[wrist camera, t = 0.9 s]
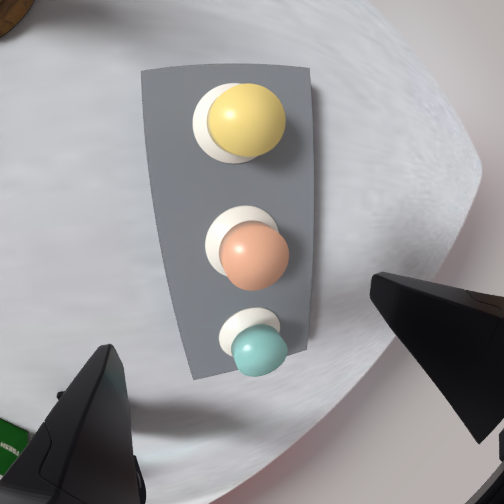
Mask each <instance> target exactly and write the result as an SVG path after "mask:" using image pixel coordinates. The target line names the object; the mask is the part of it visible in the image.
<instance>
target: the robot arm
mask: <svg viewBox="0 0 504 504" xmlns="http://www.w3.org/2000/svg"><path fill="white" fill-rule="evenodd" d="M370 299H371V301H372V302H373V303H374V305H375V306H376V308H377V309H378V311H379V312H380V314H381V315H382V316H383V318H384V319H385V321H386V322H387V324H388V325H389V327H390V328H391V329H392V331H393V332H394V333H395V334H396V336H397V337H398V338H399V339H400V341H401V342H402V343H403V344H404V345H405V347H406V348H407V349H408V350H409V352H411V354H412V355H413V357H414V358H415V359H416V360H417V362H418V363H419V364H420V365H421V367H422V368H423V369H424V370H425V372H426V373H427V374H428V376H429V377H430V378H431V379H432V381H433V382H434V383H435V385H436V386H437V387H438V388H439V390H440V391H441V393H442V394H443V395H444V396H445V398H446V399H447V401H448V402H449V403H450V405H451V406H452V408H453V409H454V410H455V412H456V413H457V415H458V416H459V417H460V419H461V420H462V421H463V423H464V425H465V426H466V427H467V428H468V430H469V432H470V433H471V434H472V436H473V438H474V439H475V440H476V442H477V443H478V444H480V443H481V442H482V441H483V440H484V439H485V438H486V437H487V436H488V435H489V434H490V433H491V432H492V431H493V430H494V429H495V427H496V426H497V425H498V424H499V423H500V422H501V421H502V419H503V418H504V297H501V296H495V295H489V294H483V293H478V292H474V291H469V290H464V289H460V288H455V287H451V286H446V285H441V284H437V283H432V282H428V281H423V280H419V279H414V278H409V277H405V276H400V275H395V274H391V273H386V272H380V273H377V274H374V275H373V277H372V280H371V288H370ZM57 398H58V402H57V403H56V405H55V406H54V407H53V409H52V410H51V412H50V413H49V415H48V416H47V417H46V419H45V422H43V423H42V425H41V426H40V428H39V429H38V431H37V432H36V433H35V435H34V436H33V438H32V439H31V441H30V442H29V443H28V445H27V446H26V447H25V449H24V450H23V451H22V452H21V454H20V455H19V456H18V458H17V459H16V460H15V461H14V463H13V464H12V465H11V467H10V468H9V469H8V470H7V472H6V473H5V474H4V476H3V477H2V478H1V479H0V504H145V502H146V488H145V483H144V480H143V477H142V474H141V471H140V468H139V465H138V462H137V458H136V456H135V455H133V447H132V435H131V420H130V409H129V402H128V396H127V389H126V382H125V374H124V367H123V364H122V362H121V360H120V358H119V356H118V354H117V352H116V350H115V348H114V346H113V345H112V344H107V345H101V346H99V347H98V348H97V350H96V351H95V352H94V354H93V355H92V356H91V357H90V359H89V360H88V361H87V363H86V364H85V365H84V367H83V368H82V369H81V370H80V372H79V373H78V374H77V376H76V377H75V378H74V380H73V381H72V383H71V384H70V385H69V387H68V388H67V389H66V391H65V392H58V393H57ZM499 459H500V460H501V461H502V463H501V464H500V466H499V467H498V468H497V469H496V471H495V472H494V473H493V474H492V475H491V477H490V478H489V479H488V480H487V481H486V482H485V483H484V484H483V486H482V487H481V488H480V489H479V490H478V491H477V492H476V493H475V494H474V495H473V496H472V497H471V498H470V499H469V500H468V501H467V502H466V503H465V504H504V428H503V430H502V431H501V432H500V434H499Z"/></svg>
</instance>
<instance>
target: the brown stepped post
mask: <svg viewBox="0 0 504 504" xmlns="http://www.w3.org/2000/svg"><path fill="white" fill-rule="evenodd" d="M33 1H34V0H0V37H1V36H3V35H4V34H6V33H7V32H8V31H10V30H11V29H12V28H13V27H14V26H15V25H16V24H17V23H18V22H19V21H20V20H21V19H22V18H23V17H24V15H25V14H26V13H27V11H28V10H29V8H30V7H31V5H32V3H33Z"/></svg>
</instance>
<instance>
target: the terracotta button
mask: <svg viewBox="0 0 504 504" xmlns="http://www.w3.org/2000/svg"><path fill="white" fill-rule="evenodd" d="M219 260H220V263H221V265H222V267H223V269H224V271H225V273H226V275H227V276H228V278H229V280H230V281H231V282H232V283H233V284H234V285H235V286H237V287H238V288H240V289H243V290H248V291H256V290H261V289H264V288H267V287H269V286H271V285H272V284H274V283H275V282H276V281H277V280H278V279H279V278H280V277H281V276H282V274H283V273H284V271H285V269H286V267H287V264H288V260H289V249H288V246H287V243H286V241H285V239H284V238H283V237H282V236H281V235H280V234H279V233H278V232H276V231H275V230H274V229H272V228H271V227H270V226H269V225H267V224H265V223H263V222H261V221H256V220H250V221H244V222H241V223H239V224H237V225H235V226H233V227H232V228H231V229H230V230H229V231H228V232H227V233H226V234H225V235H224V237H223V239H222V241H221V243H220V247H219Z"/></svg>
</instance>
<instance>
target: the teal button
mask: <svg viewBox="0 0 504 504" xmlns="http://www.w3.org/2000/svg"><path fill="white" fill-rule="evenodd" d="M287 352H288V348H287V345H286V343H285V342H284V340H283V339H282V337H281V336H280V334H279V333H278V331H277V330H276V329H275V328H274V327H272V326H270V325H265V324H259V325H254V326H251V327H248V328H246V329H244V330H243V331H241V332H240V333H239V334H238V335H237V336H236V337H235V339H234V340H233V342H232V345H231V353H232V356H233V358H234V360H235V363H236V365H237V368H238V370H239V371H240V372H241V373H242V374H244V375H247V376H253V377H256V376H262V375H266V374H268V373H270V372H272V371H274V370H275V369H277V368H278V367H279V366H280V365H281V364H282V363H283V362H284V360H285V358H286V356H287Z"/></svg>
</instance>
